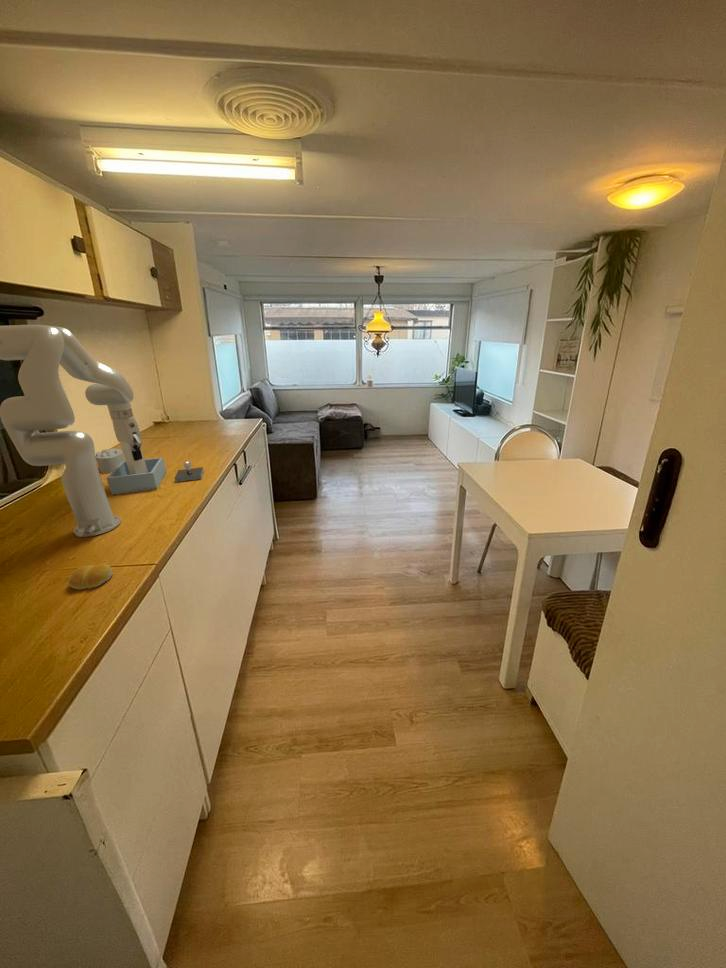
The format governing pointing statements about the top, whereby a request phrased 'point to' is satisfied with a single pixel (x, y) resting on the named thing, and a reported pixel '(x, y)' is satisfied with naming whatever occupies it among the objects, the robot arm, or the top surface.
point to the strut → (132, 465)
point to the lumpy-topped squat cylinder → (109, 459)
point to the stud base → (189, 473)
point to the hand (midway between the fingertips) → (134, 458)
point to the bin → (136, 477)
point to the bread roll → (90, 576)
